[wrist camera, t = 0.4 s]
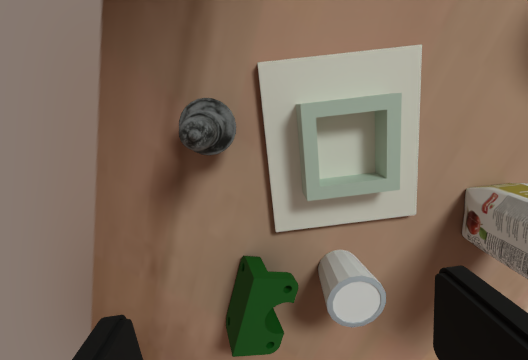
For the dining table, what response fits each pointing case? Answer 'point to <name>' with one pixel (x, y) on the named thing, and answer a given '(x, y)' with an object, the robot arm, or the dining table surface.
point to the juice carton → (499, 223)
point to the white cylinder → (350, 289)
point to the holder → (342, 136)
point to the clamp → (257, 308)
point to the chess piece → (207, 126)
